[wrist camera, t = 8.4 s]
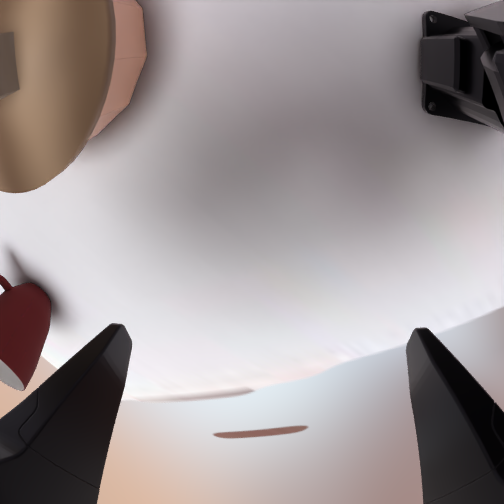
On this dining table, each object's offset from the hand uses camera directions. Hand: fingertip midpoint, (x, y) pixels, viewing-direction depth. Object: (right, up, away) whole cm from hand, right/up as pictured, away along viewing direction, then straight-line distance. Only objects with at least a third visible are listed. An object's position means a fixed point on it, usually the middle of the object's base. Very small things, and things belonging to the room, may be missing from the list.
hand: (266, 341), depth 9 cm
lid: (-13, +12, +1) cm, 18 cm away
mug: (-24, -1, +18) cm, 30 cm away
